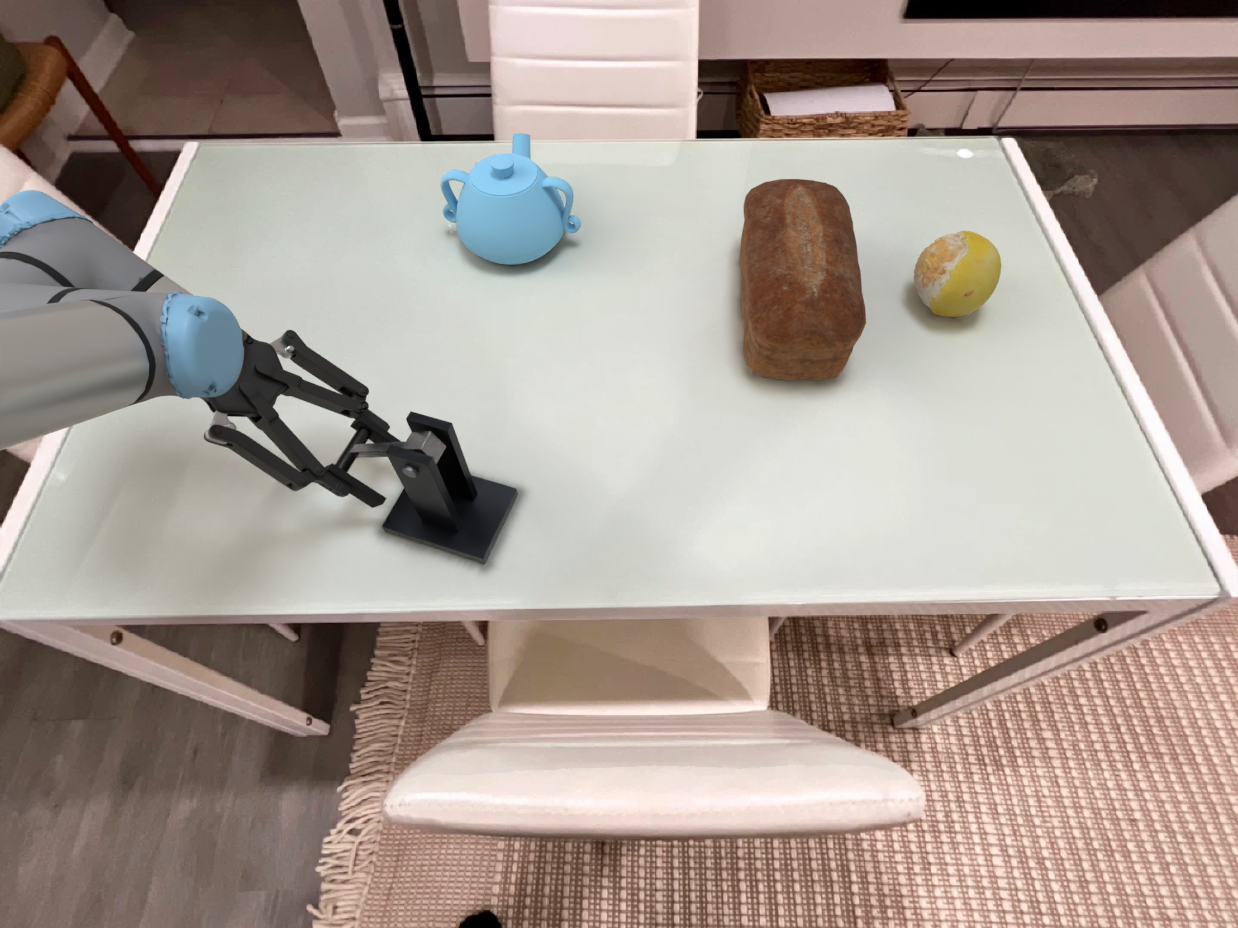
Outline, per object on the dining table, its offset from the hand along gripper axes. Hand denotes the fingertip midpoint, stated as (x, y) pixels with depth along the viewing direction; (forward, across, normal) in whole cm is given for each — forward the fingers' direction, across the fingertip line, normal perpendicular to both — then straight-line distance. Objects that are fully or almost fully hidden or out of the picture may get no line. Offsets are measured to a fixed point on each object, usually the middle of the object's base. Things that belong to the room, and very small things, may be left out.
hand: (393, 478), depth 76 cm
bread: (+28, -42, +22) cm, 55 cm away
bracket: (+7, 0, +1) cm, 7 cm away
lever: (-2, 0, +5) cm, 6 cm away
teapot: (-1, -46, -7) cm, 46 cm away
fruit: (+41, -50, +35) cm, 74 cm away
